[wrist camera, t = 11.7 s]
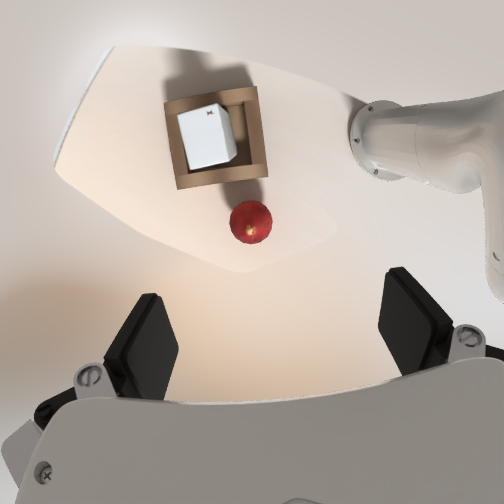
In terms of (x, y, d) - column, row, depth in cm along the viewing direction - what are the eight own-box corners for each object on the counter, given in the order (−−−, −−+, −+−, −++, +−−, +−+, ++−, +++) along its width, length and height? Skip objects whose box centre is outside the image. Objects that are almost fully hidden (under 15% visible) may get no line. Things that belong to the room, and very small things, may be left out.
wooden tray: (256, 92, 33) (256, 86, 29) (266, 172, 38) (268, 176, 33) (173, 106, 34) (163, 103, 30) (185, 184, 38) (177, 189, 34)
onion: (274, 228, 41) (278, 249, 34) (237, 237, 42) (233, 259, 34) (265, 192, 39) (268, 204, 31) (227, 201, 39) (221, 215, 32)
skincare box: (199, 121, 34) (175, 113, 23) (229, 113, 33) (218, 101, 22) (209, 161, 36) (188, 171, 25) (238, 155, 36) (231, 161, 25)
